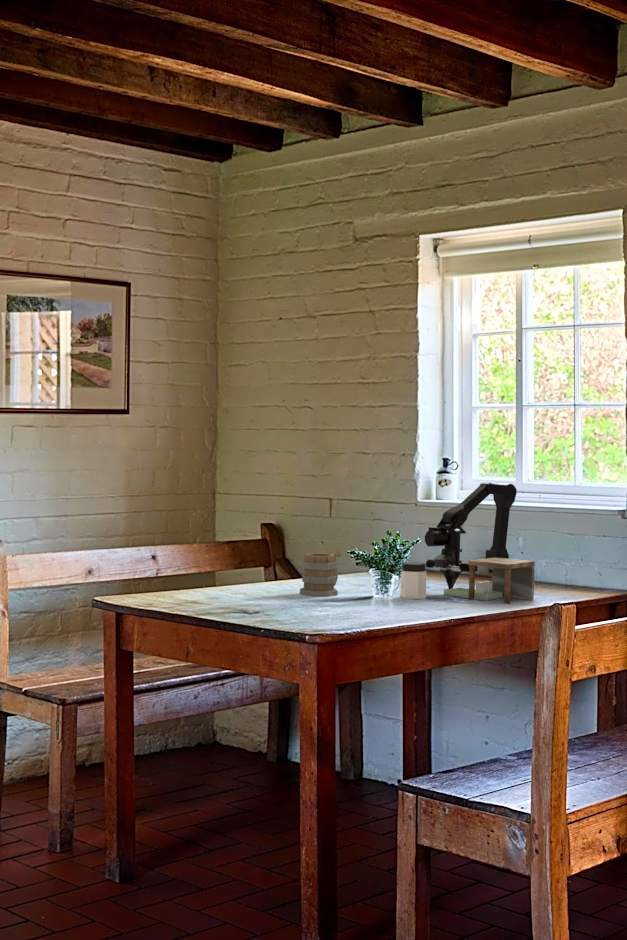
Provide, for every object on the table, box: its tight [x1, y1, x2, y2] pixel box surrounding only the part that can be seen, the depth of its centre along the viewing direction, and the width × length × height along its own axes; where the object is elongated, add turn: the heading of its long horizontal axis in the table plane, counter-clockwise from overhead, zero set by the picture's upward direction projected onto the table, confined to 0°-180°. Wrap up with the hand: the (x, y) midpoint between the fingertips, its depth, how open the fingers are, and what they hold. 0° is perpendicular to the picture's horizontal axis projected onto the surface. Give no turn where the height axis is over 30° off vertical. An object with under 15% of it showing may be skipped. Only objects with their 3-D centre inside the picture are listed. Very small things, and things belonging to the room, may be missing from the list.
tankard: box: [299, 549, 343, 598], centre depth 452 cm, size 20×13×15 cm, turn 143°
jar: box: [399, 561, 427, 600], centre depth 446 cm, size 9×8×12 cm
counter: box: [467, 558, 536, 605], centre depth 446 cm, size 18×16×14 cm
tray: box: [443, 580, 503, 601], centre depth 452 cm, size 10×18×6 cm, turn 51°
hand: (450, 589), depth 458 cm, fingers closed
